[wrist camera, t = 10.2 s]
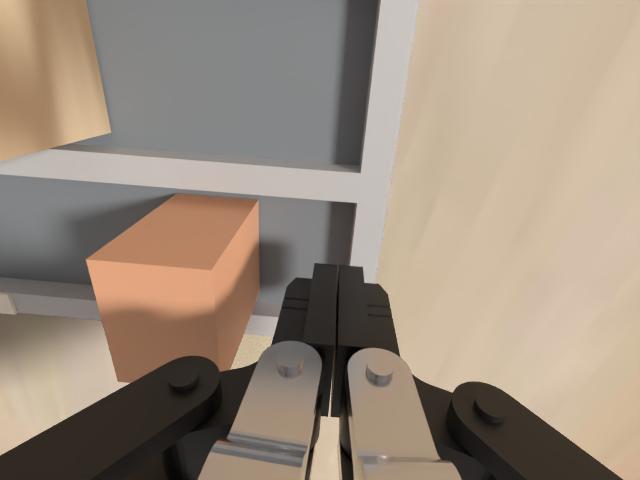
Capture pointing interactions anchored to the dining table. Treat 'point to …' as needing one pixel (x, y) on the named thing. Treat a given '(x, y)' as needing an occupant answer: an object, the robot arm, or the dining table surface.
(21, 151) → the tan block
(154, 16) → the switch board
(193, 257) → the orange rectangular block
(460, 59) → the dining table surface
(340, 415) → the robot arm
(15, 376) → the dining table surface
